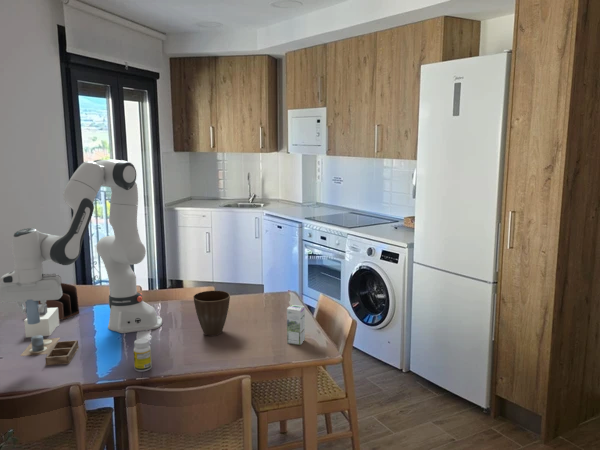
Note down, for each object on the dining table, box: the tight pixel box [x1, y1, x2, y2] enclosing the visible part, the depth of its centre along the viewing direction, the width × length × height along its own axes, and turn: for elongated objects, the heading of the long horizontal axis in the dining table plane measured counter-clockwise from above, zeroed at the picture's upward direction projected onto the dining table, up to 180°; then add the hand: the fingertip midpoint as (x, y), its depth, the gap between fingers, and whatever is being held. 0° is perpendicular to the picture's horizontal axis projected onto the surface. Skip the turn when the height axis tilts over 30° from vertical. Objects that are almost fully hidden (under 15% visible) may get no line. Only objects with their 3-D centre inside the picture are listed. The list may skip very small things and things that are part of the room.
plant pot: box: [192, 290, 231, 337], centre depth 216 cm, size 15×15×16 cm
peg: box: [24, 300, 40, 324], centre depth 186 cm, size 4×4×9 cm
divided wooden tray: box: [44, 339, 80, 366], centre depth 192 cm, size 8×15×4 cm, turn 11°
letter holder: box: [38, 282, 80, 320], centre depth 240 cm, size 10×20×14 cm, turn 71°
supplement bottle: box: [133, 338, 152, 372], centre depth 183 cm, size 6×6×10 cm
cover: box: [23, 304, 60, 338], centre depth 218 cm, size 9×15×12 cm, turn 11°
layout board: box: [19, 335, 61, 357], centre depth 201 cm, size 10×16×6 cm, turn 11°
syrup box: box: [286, 304, 306, 346], centre depth 205 cm, size 6×6×14 cm
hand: (32, 312), depth 186 cm, fingers closed on peg, 4 cm apart
